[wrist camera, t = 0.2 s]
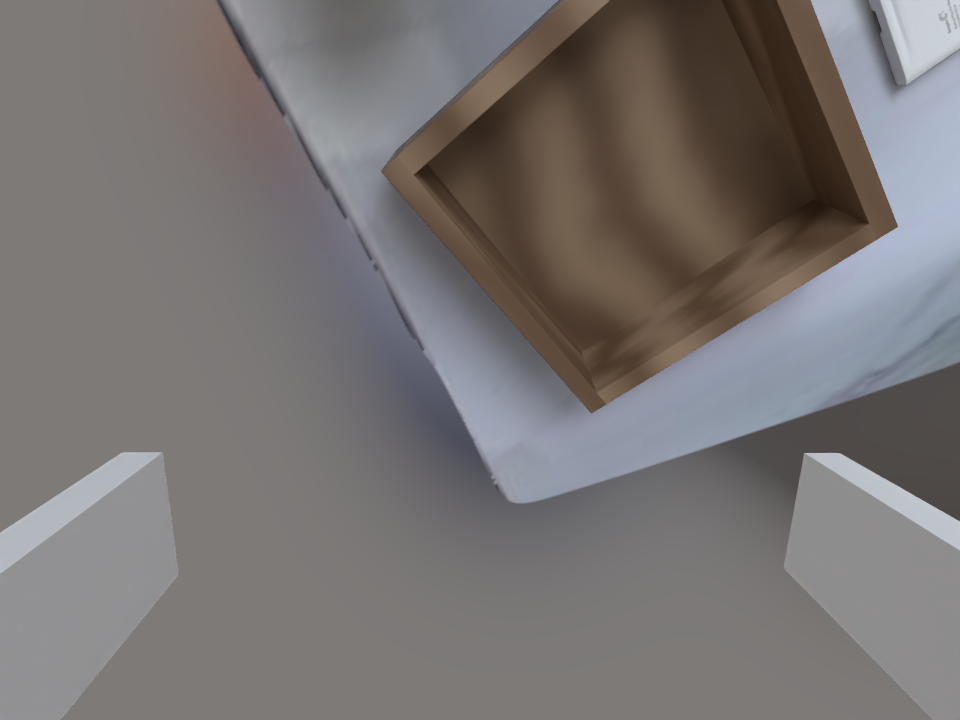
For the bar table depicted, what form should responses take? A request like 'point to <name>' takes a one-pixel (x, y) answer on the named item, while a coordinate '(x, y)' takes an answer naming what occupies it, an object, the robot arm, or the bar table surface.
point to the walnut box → (646, 178)
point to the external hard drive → (917, 34)
